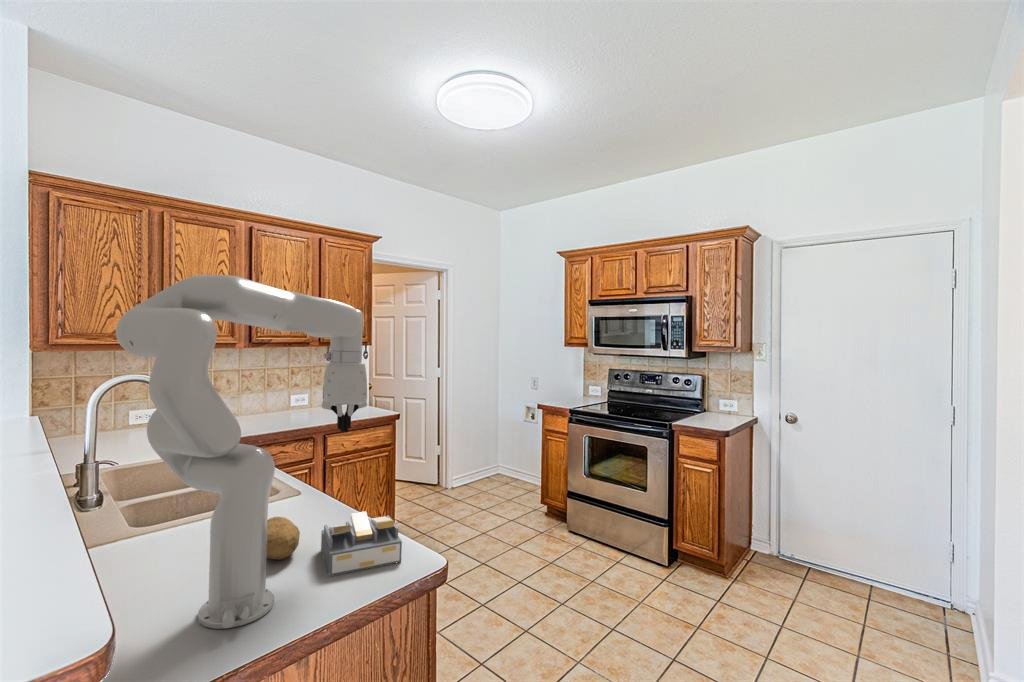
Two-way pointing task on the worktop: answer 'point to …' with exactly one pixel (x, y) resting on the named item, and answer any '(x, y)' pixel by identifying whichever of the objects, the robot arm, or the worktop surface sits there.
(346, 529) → the rocker
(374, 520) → the block
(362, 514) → the rocker
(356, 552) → the box
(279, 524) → the potato
